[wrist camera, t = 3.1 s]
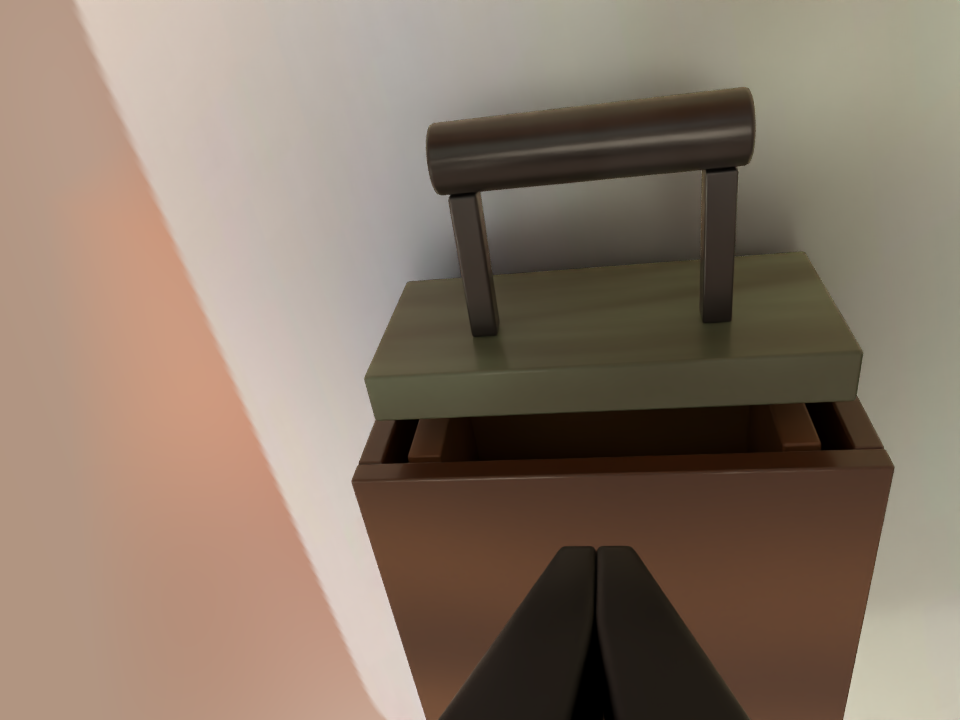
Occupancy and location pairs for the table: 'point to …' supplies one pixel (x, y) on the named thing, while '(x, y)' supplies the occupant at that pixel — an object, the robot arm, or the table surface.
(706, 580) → the cabinet
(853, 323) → the table surface
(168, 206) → the table surface
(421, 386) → the drawer
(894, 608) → the table surface
